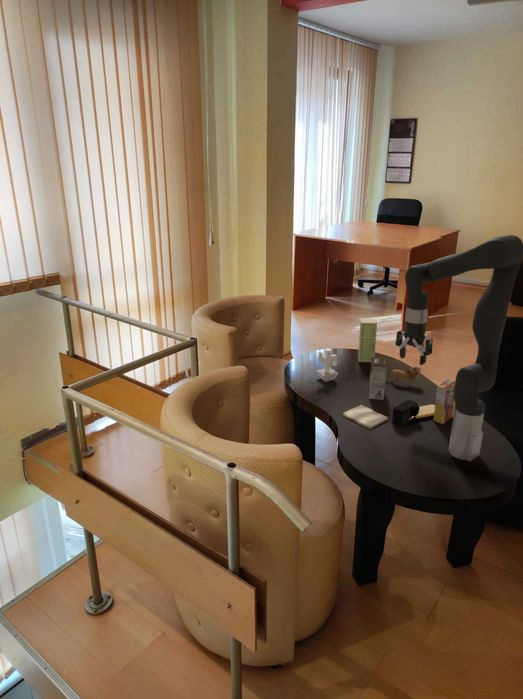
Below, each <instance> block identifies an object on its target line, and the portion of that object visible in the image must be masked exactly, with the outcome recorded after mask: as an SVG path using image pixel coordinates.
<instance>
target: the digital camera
mask: <svg viewBox="0 0 523 699" xmlns="http://www.w3.org/2000/svg"><path fill="white" fill-rule="evenodd" d="M419 413H420V405H418V402H417V401H413V400H412V399H407V400H405V401H403V402H401V403H400V404H398V405H395V406H394V407H393V409H392V419H391V424H393V425H395V426H398V427H399V428H402V427H404V426H406V425H407V424H409V423H410V422H412V421H414V420H416V418H417V416H418V414H419ZM412 416H414V418H412V419H410V418H411V417H412ZM415 416H416V417H415ZM409 419H410V420H409Z"/></svg>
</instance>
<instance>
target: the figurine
mask: <svg viewBox="0 0 523 699" xmlns="http://www.w3.org/2000/svg"><path fill="white" fill-rule="evenodd" d="M317 358H318V363H320V364H323V363H324V368H321V369H316V372H317V374H318V376H319V377H320V379H321V380H323V381H324V382H325V383H326V382H330V381H334V380H335V379H336V377H337V376H338V374H339V373H338V372H337V371H335V369H333V368H331V365H333V366H334V367H336V366H337V365H338V355H337V354H332V348H330V347H327V348H326V347H325V348H324V355H323V351H321V350H319V351H318V357H317ZM331 362H332V364H331Z"/></svg>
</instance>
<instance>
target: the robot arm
mask: <svg viewBox="0 0 523 699" xmlns="http://www.w3.org/2000/svg"><path fill="white" fill-rule="evenodd" d="M522 261H523V241H522V239H521V238H520V237H519V236H518V235H514V234H513V235H512V234H510V235H509V234H508V235H502V236H496V237H492V238H490V239H489V240H486V241H485V242H483V243H480V244H479V245H477V246H475V247H472V248H471V249H468V250H465V251H462V252H458V253H454V254H450V255H447V256H443V257H440V258H436V259H434V260H432V261H430V262H426V263H420V264H415V265H411V266H409V267H408V268H407V270H406V272H405V275H404V281H405V287H406V292H407V304H406V312H405V319H404V329H400V330H397V332H396V338H395V346H396V347H398V348H399V357H400V359H402V360H403V359H405V358H406V353H407V347H408V346H410V347H413V348H415V349H417V351H418V352H419V353H420V355H419V356H420V357H419V366H423V365H425V364H426V363H427V356H430V355H432V354H433V341H434V340H433V338H432V337H430V338H427V337H426V333H427V323H428V314H429V312H428V306H429V293H428V292H427V291H426V290H423V289H422V285H427V284H430V283H434V282H436V281H441V280H445V279H449V278H453V277H456V276H459V275H463V274H465V273H467V272H471V271H477V270H487V269H488V270H493V271H492V275H491V279H490V281H489V284H488V285H487V286H486V289H485V290H484V291H483V293H482V295H481V296H480V298H479V299H478V302H477V304H476V306H475V310H474V315H473V320H472V332H473V336H474V338H475V341H476V343H477V348H478V349H477V356H476V359H475V363H474V364H471V365H468V366H463V367H461V368H459V370H458V371H457V373H456V376H455V380H454V381H455V392H454V400H455V407H454V416H453V417H452V424H451V432H450V438H449V443H448V444H449V445H448V452H449V454H450V455H451V456H452V457H454V458H456V459H459V460H463V461H468V462H472V461H473V460H475V459H476V458H477V457H479V456H480V453H481V446H482V441H483V435H484V431H483V430H482V426H483V423H484V422H483V421H484V415H485V410H486V404H485V402H484V401H482V400H481V399H479V398H478V397H479V393H481V392H485V391H488V390H490V389H491V388H493V386H494V385H495V383H496V379H497V370H498V362H499V361H498V360H499V352H500V348H501V343H502V338H503V333H504V330H505V326H506V321H507V317H508V311H509V307H510V301H511V299H512V294H513V290H514V285H515V282H516V279H517V276H518V273H519V270H520V267H521V264H522ZM404 339H405V340H404Z"/></svg>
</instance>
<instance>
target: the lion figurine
mask: <svg viewBox="0 0 523 699" xmlns="http://www.w3.org/2000/svg"><path fill="white" fill-rule="evenodd" d="M420 375H421V368H420V367H419V366H415V365H414V366H413V367H412V368H410V369H408V370H406V371H404V370H403V371H402V370H400V369H392V370H391V371H390V374H389V376H388V379H387V380H386V381H385V383H388V382H390V383H391V382H393V383H394V386H398V383H397V379H398V378H400V379H401V380H406V381H407V382H406V383H407V386H408V387H409V388H411V387H412V384H411V383H412V381H415V380H417V378H418V377H420ZM392 379H393V380H392Z"/></svg>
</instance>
